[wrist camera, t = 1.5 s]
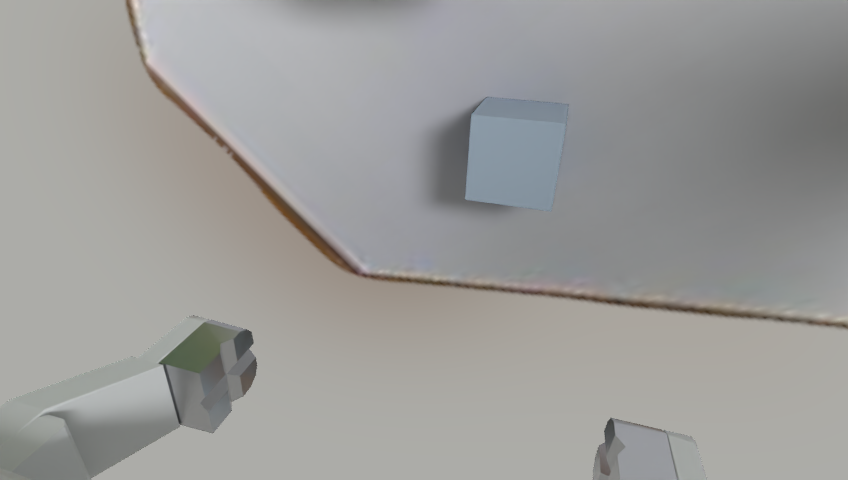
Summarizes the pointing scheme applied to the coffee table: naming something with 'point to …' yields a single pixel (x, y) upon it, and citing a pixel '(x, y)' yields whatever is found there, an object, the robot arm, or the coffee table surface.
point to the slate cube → (515, 152)
